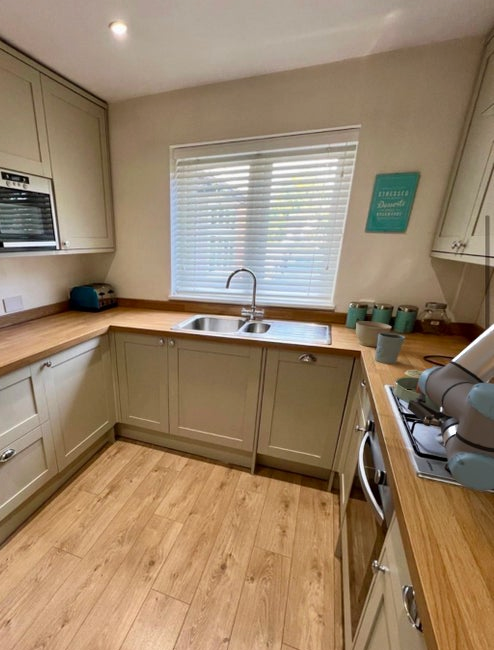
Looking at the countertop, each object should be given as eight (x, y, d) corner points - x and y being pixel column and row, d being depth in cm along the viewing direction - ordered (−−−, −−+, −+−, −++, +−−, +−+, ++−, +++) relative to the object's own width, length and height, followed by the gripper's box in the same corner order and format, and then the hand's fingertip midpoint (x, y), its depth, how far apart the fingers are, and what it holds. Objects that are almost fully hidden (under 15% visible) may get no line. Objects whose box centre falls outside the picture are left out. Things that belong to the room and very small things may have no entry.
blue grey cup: (369, 360, 151) (375, 334, 147) (376, 355, 158) (382, 331, 153) (394, 366, 144) (401, 339, 140) (400, 360, 151) (407, 335, 147)
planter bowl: (386, 350, 165) (391, 329, 161) (350, 345, 173) (354, 325, 169) (386, 343, 178) (391, 323, 174) (354, 338, 186) (358, 319, 182)
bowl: (452, 395, 116) (456, 384, 114) (460, 417, 101) (465, 404, 100) (392, 384, 125) (395, 373, 123) (392, 402, 110) (395, 390, 108)
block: (430, 393, 116) (434, 381, 114) (431, 397, 113) (435, 386, 111) (415, 390, 118) (418, 379, 117) (415, 394, 115) (419, 383, 113)
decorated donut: (417, 375, 134) (420, 367, 132) (443, 386, 124) (446, 377, 123) (397, 378, 131) (399, 369, 129) (422, 388, 121) (425, 379, 120)
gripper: (394, 436, 81) (395, 403, 98) (533, 472, 69) (506, 428, 86) (402, 408, 78) (401, 380, 95) (548, 441, 66) (517, 402, 83)
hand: (451, 402), depth 91 cm, fingers open, 13 cm apart
